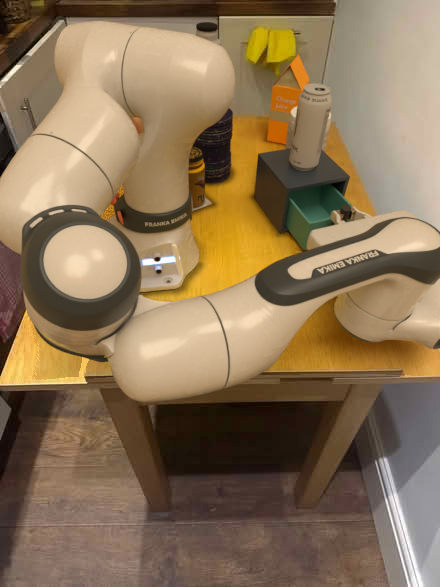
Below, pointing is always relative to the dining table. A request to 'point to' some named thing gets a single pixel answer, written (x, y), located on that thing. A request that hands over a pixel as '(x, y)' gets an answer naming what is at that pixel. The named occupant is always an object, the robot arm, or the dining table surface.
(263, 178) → the small drawer cabinet
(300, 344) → the dining table surface
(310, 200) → the cabinet drawer
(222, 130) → the storage jar
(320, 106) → the energy drink can
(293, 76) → the orange juice
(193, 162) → the condiment
